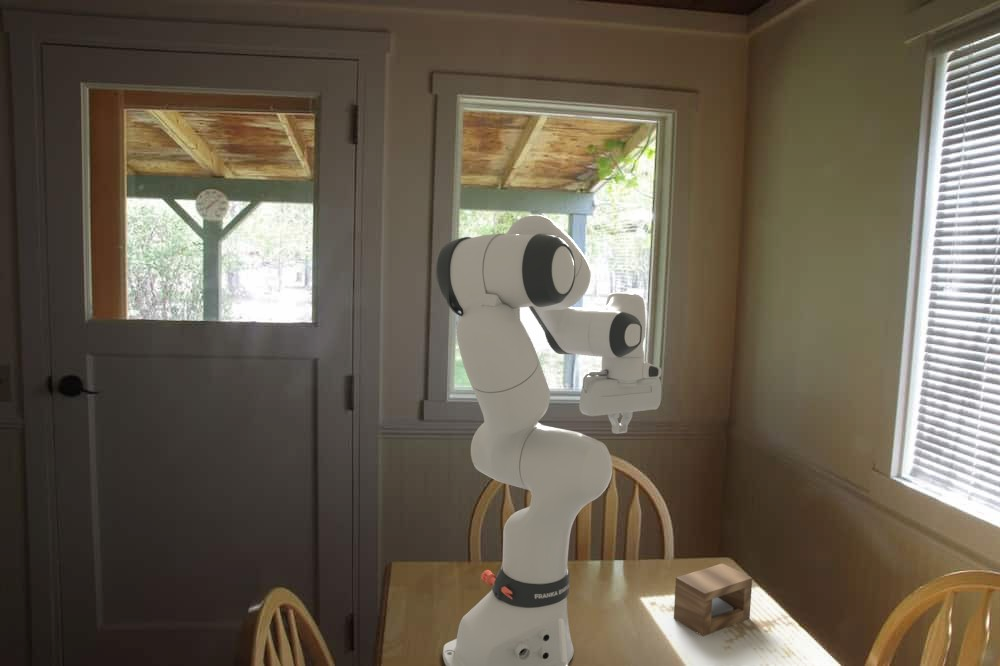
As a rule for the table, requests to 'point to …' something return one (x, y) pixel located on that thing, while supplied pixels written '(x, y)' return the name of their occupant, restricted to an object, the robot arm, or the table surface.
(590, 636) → the table surface
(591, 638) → the table surface
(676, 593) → the shelf
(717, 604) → the grey rectangular block
